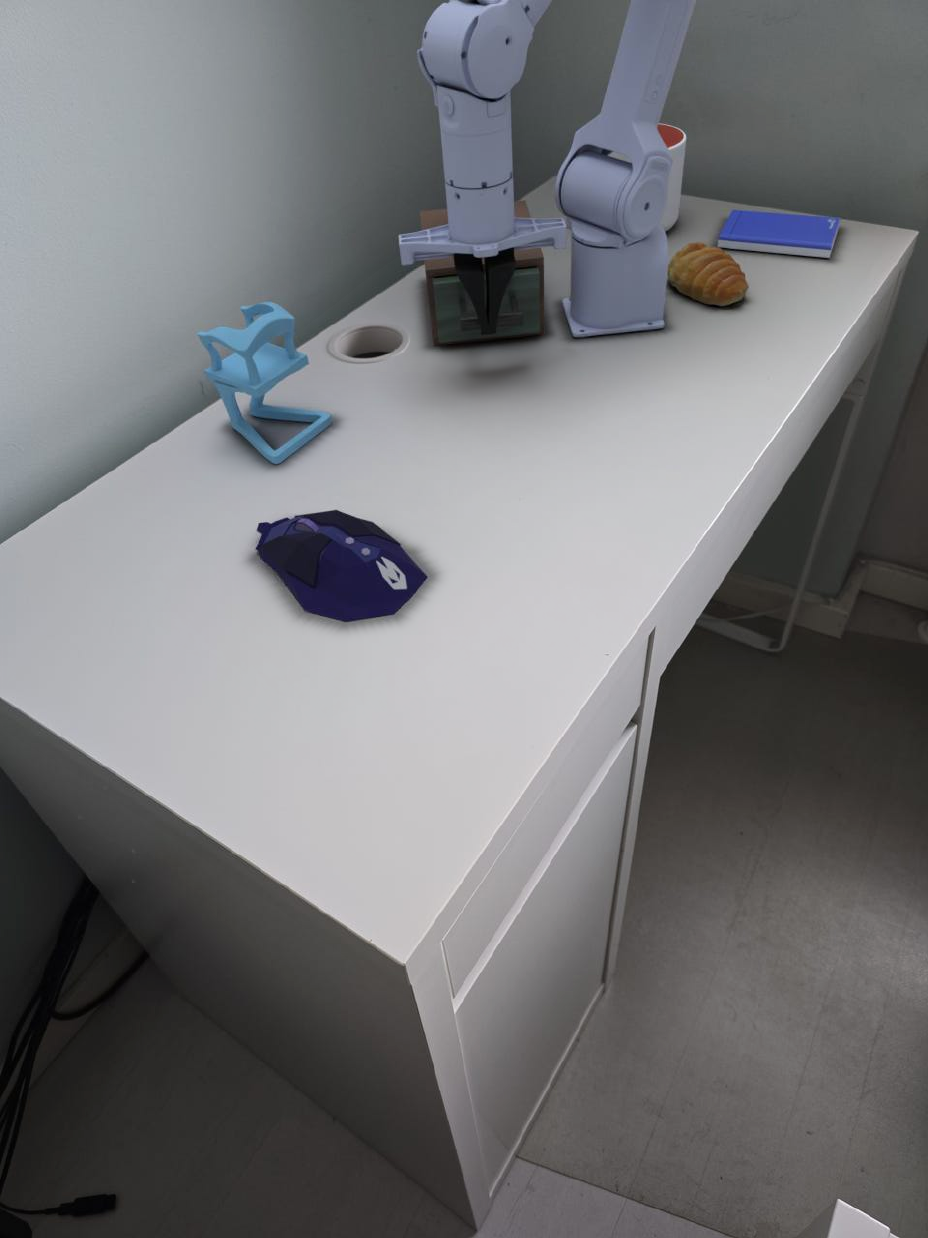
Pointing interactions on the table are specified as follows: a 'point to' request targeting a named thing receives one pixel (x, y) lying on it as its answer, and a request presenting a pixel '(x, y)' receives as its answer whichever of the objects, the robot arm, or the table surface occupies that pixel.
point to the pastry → (707, 275)
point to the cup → (676, 146)
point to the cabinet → (447, 267)
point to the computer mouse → (339, 564)
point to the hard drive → (780, 233)
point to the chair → (260, 374)
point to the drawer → (460, 314)
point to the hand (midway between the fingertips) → (487, 329)
